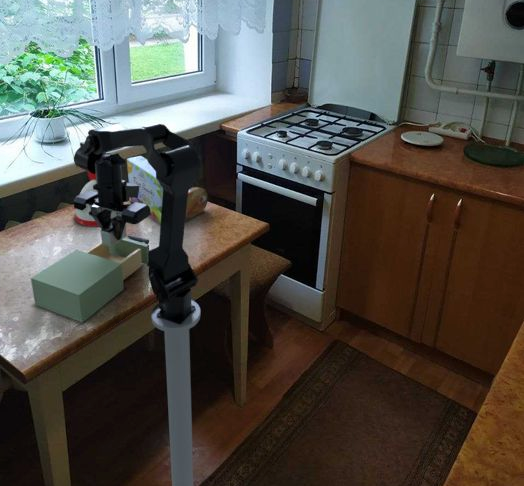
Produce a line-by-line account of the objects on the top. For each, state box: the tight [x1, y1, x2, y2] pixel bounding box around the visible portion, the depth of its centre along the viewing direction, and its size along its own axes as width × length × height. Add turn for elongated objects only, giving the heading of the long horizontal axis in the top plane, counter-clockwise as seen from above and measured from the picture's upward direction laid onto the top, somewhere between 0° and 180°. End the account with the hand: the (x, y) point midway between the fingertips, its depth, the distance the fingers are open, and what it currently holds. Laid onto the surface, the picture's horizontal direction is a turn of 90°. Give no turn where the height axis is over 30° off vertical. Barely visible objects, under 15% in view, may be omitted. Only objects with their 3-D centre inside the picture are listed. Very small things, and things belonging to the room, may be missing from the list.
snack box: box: [126, 155, 163, 225], centre depth 153 cm, size 21×6×15 cm, turn 41°
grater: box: [100, 223, 128, 247], centre depth 120 cm, size 6×3×4 cm, turn 156°
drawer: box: [85, 233, 150, 281], centre depth 124 cm, size 17×12×5 cm
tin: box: [185, 186, 209, 222], centre depth 151 cm, size 15×3×8 cm, turn 143°
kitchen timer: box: [75, 171, 116, 227], centre depth 149 cm, size 14×14×15 cm
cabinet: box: [30, 249, 125, 323], centre depth 112 cm, size 14×14×7 cm
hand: (114, 238), depth 121 cm, fingers closed on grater, 2 cm apart
